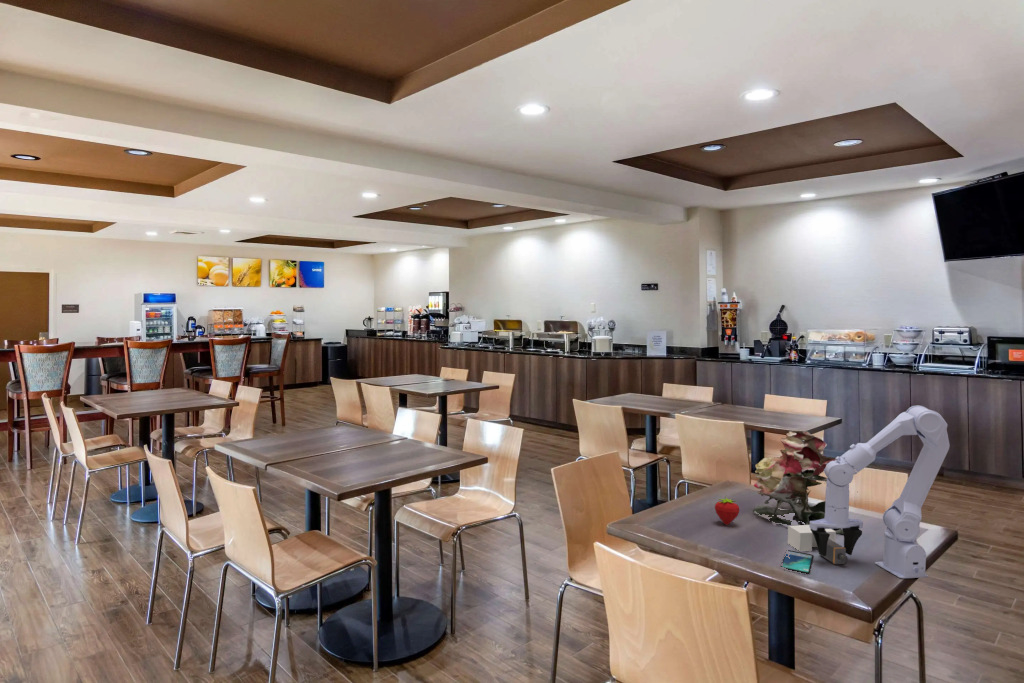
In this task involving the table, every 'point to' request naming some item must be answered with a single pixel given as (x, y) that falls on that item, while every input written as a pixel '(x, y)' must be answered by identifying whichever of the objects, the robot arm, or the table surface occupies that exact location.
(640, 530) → the table surface
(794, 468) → the rose bouquet
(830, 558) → the plug
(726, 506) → the strawberry
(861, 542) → the table surface
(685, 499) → the table surface
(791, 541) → the socket block
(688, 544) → the table surface
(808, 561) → the smartphone
